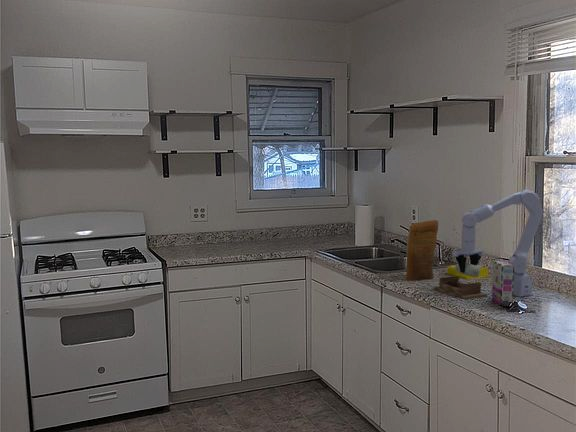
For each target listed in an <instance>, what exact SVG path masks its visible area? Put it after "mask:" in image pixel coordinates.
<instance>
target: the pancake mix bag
mask: <svg viewBox="0 0 576 432" xmlns="http://www.w3.org/2000/svg"><path fill="white" fill-rule="evenodd" d="M438 231H439V221H438V220H435V219H433V220H426V221H422V222H421V221H420V222H412V223H411V225H409V229H408V234H407V240H406V251H405V252H406V265H405V266H406V277H405V281H408V282H417V281H416V280H418V281H424V280H429V279H430V280H431V279H434V271H433V270H434V261H435V258H434V257H435V249H436V245H437V239H438V238H437V237H438V236H437V235H438Z"/></svg>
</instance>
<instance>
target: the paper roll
mask: <svg viewBox="0 0 576 432" xmlns="http://www.w3.org/2000/svg"><path fill="white" fill-rule="evenodd" d="M455 265H456V271H457V272H458V273H461V274H465V275H468V276H471V277H477V276H478V275H479V274H480V268H479V267H478V266H479V265H478V266H476V265H472V264H470V263H468V262H466V264H465V273H462V272H460V268H459V264H458V262H457V263H456V264H455Z"/></svg>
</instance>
